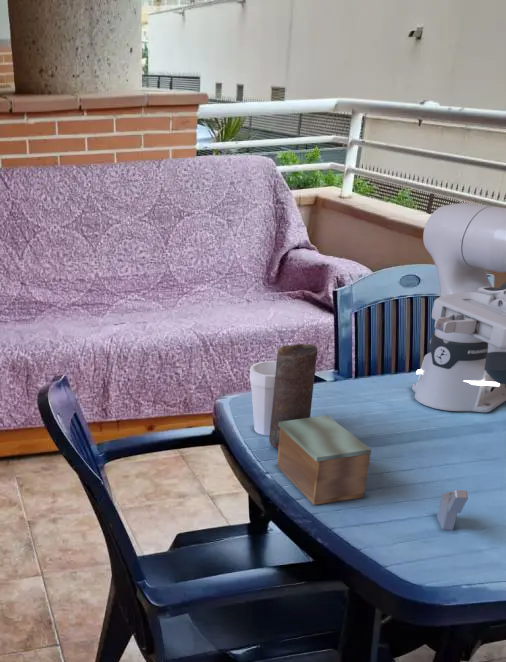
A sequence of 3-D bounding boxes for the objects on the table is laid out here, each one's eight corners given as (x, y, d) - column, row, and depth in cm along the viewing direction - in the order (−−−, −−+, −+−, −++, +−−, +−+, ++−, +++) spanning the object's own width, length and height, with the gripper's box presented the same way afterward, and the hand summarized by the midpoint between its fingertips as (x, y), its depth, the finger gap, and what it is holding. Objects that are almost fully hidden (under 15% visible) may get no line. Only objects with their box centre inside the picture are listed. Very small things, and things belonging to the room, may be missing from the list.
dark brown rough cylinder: (307, 456, 142) (318, 354, 131) (268, 454, 143) (276, 353, 133) (306, 440, 148) (316, 341, 138) (268, 438, 150) (276, 340, 139)
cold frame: (314, 505, 126) (319, 461, 122) (276, 466, 139) (280, 425, 135) (363, 497, 127) (370, 454, 123) (322, 459, 141) (327, 419, 136)
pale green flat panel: (316, 461, 122) (317, 457, 121) (278, 426, 135) (278, 421, 134) (370, 453, 123) (371, 449, 123) (327, 419, 136) (327, 414, 136)
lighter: (436, 516, 121) (446, 472, 117) (447, 516, 121) (457, 472, 116) (446, 539, 115) (456, 493, 111) (458, 539, 115) (469, 494, 111)
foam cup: (295, 422, 156) (301, 362, 149) (290, 440, 148) (296, 378, 142) (250, 418, 159) (254, 359, 152) (242, 436, 151) (246, 374, 144)
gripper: (554, 353, 117) (475, 363, 115) (473, 320, 135) (403, 328, 132) (565, 313, 114) (484, 323, 112) (480, 284, 131) (409, 292, 129)
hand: (439, 325), depth 122 cm, fingers closed
